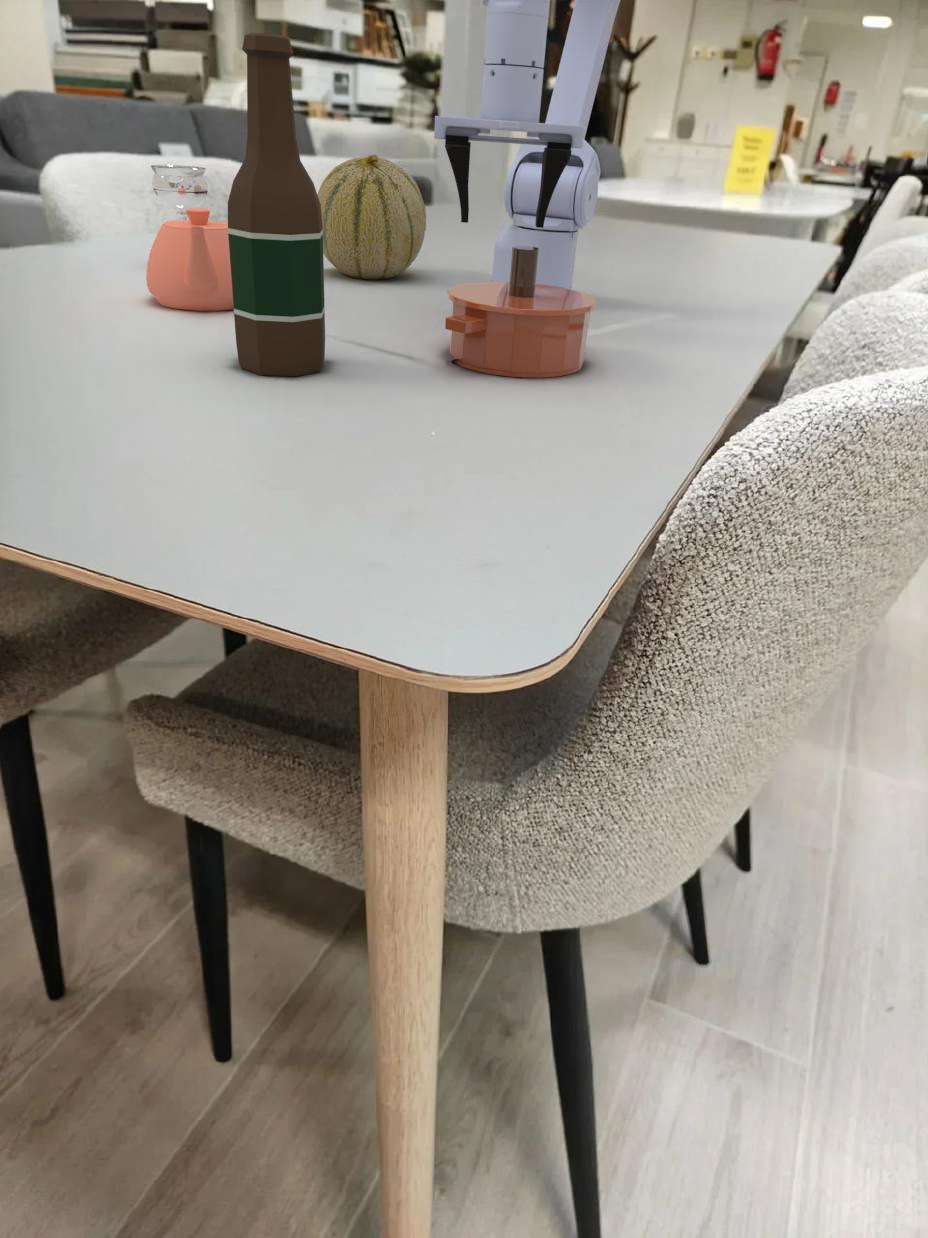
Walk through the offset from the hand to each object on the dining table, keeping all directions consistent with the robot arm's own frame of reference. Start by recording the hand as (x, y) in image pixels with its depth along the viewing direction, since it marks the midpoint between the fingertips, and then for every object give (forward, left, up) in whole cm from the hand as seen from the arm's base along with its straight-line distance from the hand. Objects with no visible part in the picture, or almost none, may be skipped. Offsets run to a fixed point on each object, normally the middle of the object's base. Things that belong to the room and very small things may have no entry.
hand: (502, 223), depth 88 cm
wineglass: (-47, -7, -10) cm, 48 cm away
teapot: (-27, -18, -10) cm, 34 cm away
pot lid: (+10, -9, -5) cm, 15 cm away
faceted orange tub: (+10, -9, -10) cm, 17 cm away
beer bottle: (-1, -28, -10) cm, 30 cm away
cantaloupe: (-29, +9, -10) cm, 32 cm away
